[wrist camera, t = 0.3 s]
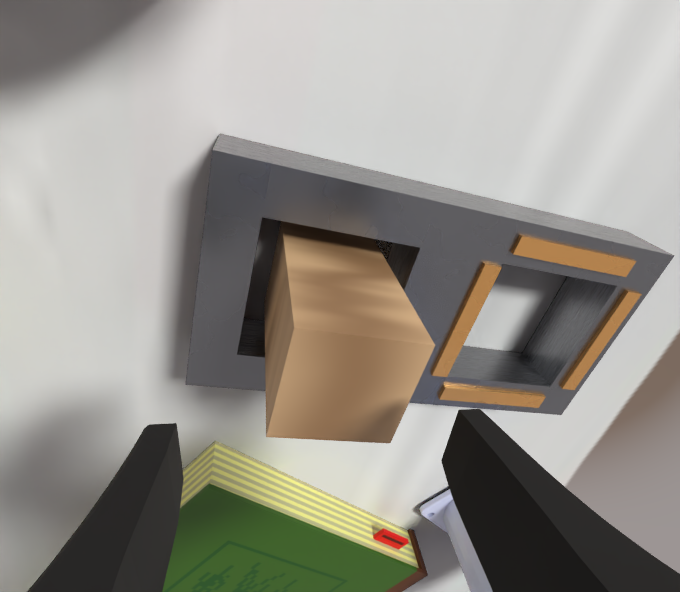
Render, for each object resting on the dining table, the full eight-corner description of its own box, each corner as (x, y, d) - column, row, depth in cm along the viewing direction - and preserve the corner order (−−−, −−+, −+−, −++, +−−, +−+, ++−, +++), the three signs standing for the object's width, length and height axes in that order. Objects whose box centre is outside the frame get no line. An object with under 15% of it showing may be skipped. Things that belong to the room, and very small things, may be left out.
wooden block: (372, 237, 19) (435, 345, 12) (348, 313, 21) (390, 443, 14) (281, 219, 18) (293, 327, 11) (264, 302, 20) (266, 436, 13)
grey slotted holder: (627, 231, 21) (677, 257, 18) (533, 380, 26) (563, 417, 23) (219, 133, 16) (212, 151, 13) (194, 344, 20) (184, 387, 18)
